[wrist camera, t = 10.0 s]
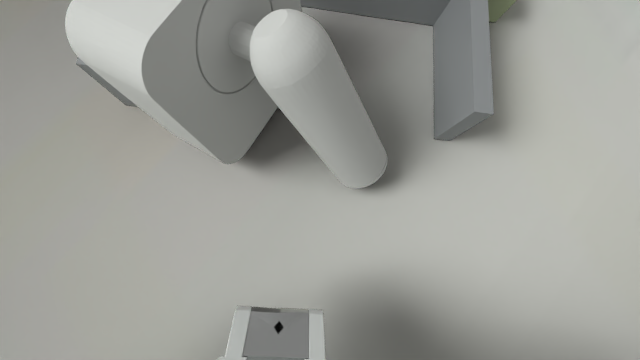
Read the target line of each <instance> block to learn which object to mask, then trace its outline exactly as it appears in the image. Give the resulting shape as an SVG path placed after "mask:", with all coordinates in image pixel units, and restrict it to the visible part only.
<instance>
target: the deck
mask: <svg viewBox="0 0 640 360" xmlns="http://www.w3.org/2000/svg"><path fill="white" fill-rule="evenodd" d="M515 1H516V0H300V4H301V6H304V7H310V8H317V9H324V10H331V11H337V12H344V13H351V14H358V15H364V16H371V17H378V18H385V19H391V20H398V21H405V22H412V23H418V24H425V25H432V26H433V58H434V139H439V140H448V141H450V140H452V139H453V138H455V137H457V136H458V135H460V134H462V133H463V132H465V131H467V130H468V129H470V128H472V127H473V126H475V125H477V124H478V123H480V122H482V121H483V120H485V119H487V118H488V117H490V116H492V115H493V114H494V108H493V89H492V69H491V50H490V31H489V21H490V22H496V21H497V20H498V19H499V18H500V17H501V16H502V15H503V14H504V13H505V12H506V11H507V10H508V9H509V8H510V7H511V6H512V5H513V3H514V2H515ZM76 64H77V65H78V66H79V67H81V68H82V69H83V70H84V71H85V72H87V73H88V74H89V75H90V76H91V77H93V78H94V79H95V80H96V81H97V82H99V83H100V84H101V85H102V86H103V87H105V88H106V89H107V90H108V91H109V92H111V93H112V94H113V95H114V96H115V97H117V98H118V99H119V100H120V101H121V102H123V103H124V104H125V105H129V106H137V105H135V104H134V103H133V102H132V101H130V100H129V99H128V98H127V97H125V96H124V95H123V94H122V93H120V92H119V91H118V90H117V89H116V88H114V87H113V86H112V85H111V84H109V83H108V82H107V81H106V80H105V79H103V78H102V77H101V76H100V75H98V74H97V73H96V72H95V71H94V70H92V69H91V68H90V67H89V66H88V65H86V64H85V63H84V62H83V61H82V60H81V59H79V58H77V62H76Z"/></svg>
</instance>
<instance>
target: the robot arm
mask: <svg viewBox="0 0 640 360" xmlns="http://www.w3.org/2000/svg"><path fill="white" fill-rule="evenodd" d="M217 360H326V352H325V330H324V313H323V310H317V309H297V308H267V307H252V306H237V307H236V310H235V313H234V317H233V322H232V326H231V331H230V335H229V339H228V344H227V348H226V352H225V356H220V357H219V358H218V359H217Z"/></svg>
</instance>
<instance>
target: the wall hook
mask: <svg viewBox="0 0 640 360" xmlns="http://www.w3.org/2000/svg"><path fill="white" fill-rule="evenodd" d="M65 29H66V35H67V38H68V41H69V43H70V45H71V47H72V49H73V51H74V52H75V54H76V55H77V56H78V58H79V59H81V60H82V61H83V62H84V63H85V64H86V65H88V66H89V67H90V68H91V69H92V70H94V71H95V72H96V73H97V74H98V75H100V76H101V77H102V78H103V79H105V80H106V81H107V82H108V83H109V84H111V85H112V86H113V87H114V88H116V89H117V90H118V91H119V92H120V93H122V94H123V95H124V96H125V97H127V98H128V99H129V100H130V101H132V102H133V103H134V104H135V105H137V106H138V107H139V108H140V109H142V110H143V111H144V112H145V113H147V114H148V115H149V116H150V117H152V118H153V119H154V120H155V121H156V122H158V123H159V124H160V125H161V126H163V127H164V128H165V129H166V130H168V131H169V132H170V133H171V134H173V135H174V136H176V137H178V138H180V139H181V140H183V141H185V142H187V143H188V144H190V145H192V146H194V147H196V148H197V149H199V150H201V151H203V152H204V153H206V154H208V155H210V156H212V157H213V158H215V159H217V160H219V161H220V162H222V163H224V164H232V163H235V162H237V161H238V160H239V159H241V158H242V157H243V156H244V155H245V154H246V152H247V151H248V150H249V148H250V147H251V145H252V144H253V142H254V141H255V139H256V138H257V137H258V135H259V134H260V132H261V131H262V129H263V128H264V126H265V125H266V124H267V122H268V121H269V119H270V118H271V116H272V115H273V113H274V112H275V110H276V109H277V108H278V107H279V108H280V110H281V111H282V112H283V113H284V115H285V116H286V117H287V118H288V119H289V121H290V122H291V123H292V124H293V126H294V127H295V128H296V129H297V130H298V132H299V133H300V134H301V135H302V136H303V138H304V139H305V140H306V141H307V143H308V144H309V145H310V146H311V147H312V149H313V150H314V151H315V152H316V153H317V155H318V156H319V157H320V158H321V160H322V161H323V162H324V163H325V164H326V166H327V167H328V168H329V169H330V170H331V172H332V173H333V174H334V175H335V177H336V178H337V179H338V180H339V181H340V183H342V184H343V185H344V186H346V187H349V188H363V187H367V186H369V185H371V184H373V183H374V182H376V181H377V180H378V179H379V178H380V177H381V176H382V175H383V173H384V171H385V169H386V167H387V162H388V157H387V153H386V151H385V149H384V147H383V145H382V143H381V141H380V139H379V137H378V135H377V133H376V131H375V129H374V126H373V124H372V122H371V120H370V118H369V116H368V114H367V112H366V110H365V108H364V106H363V104H362V102H361V100H360V98H359V96H358V94H357V92H356V89H355V87H354V85H353V83H352V81H351V79H350V77H349V75H348V73H347V71H346V69H345V67H344V65H343V63H342V61H341V59H340V57H339V55H338V53H337V51H336V49H335V47H334V45H333V43H332V41H331V39H330V37H329V35H328V34H327V32H326V31H325V29H324V28H323V27H322V26H321V25H320V23H318V22H317V21H316V20H315V19H314V18H312V17H311V16H309V15H307V14H305V13H303V12H302V9H301V4H300V0H72V1H71V3H70V5H69V7H68V9H67V13H66V18H65Z"/></svg>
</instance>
